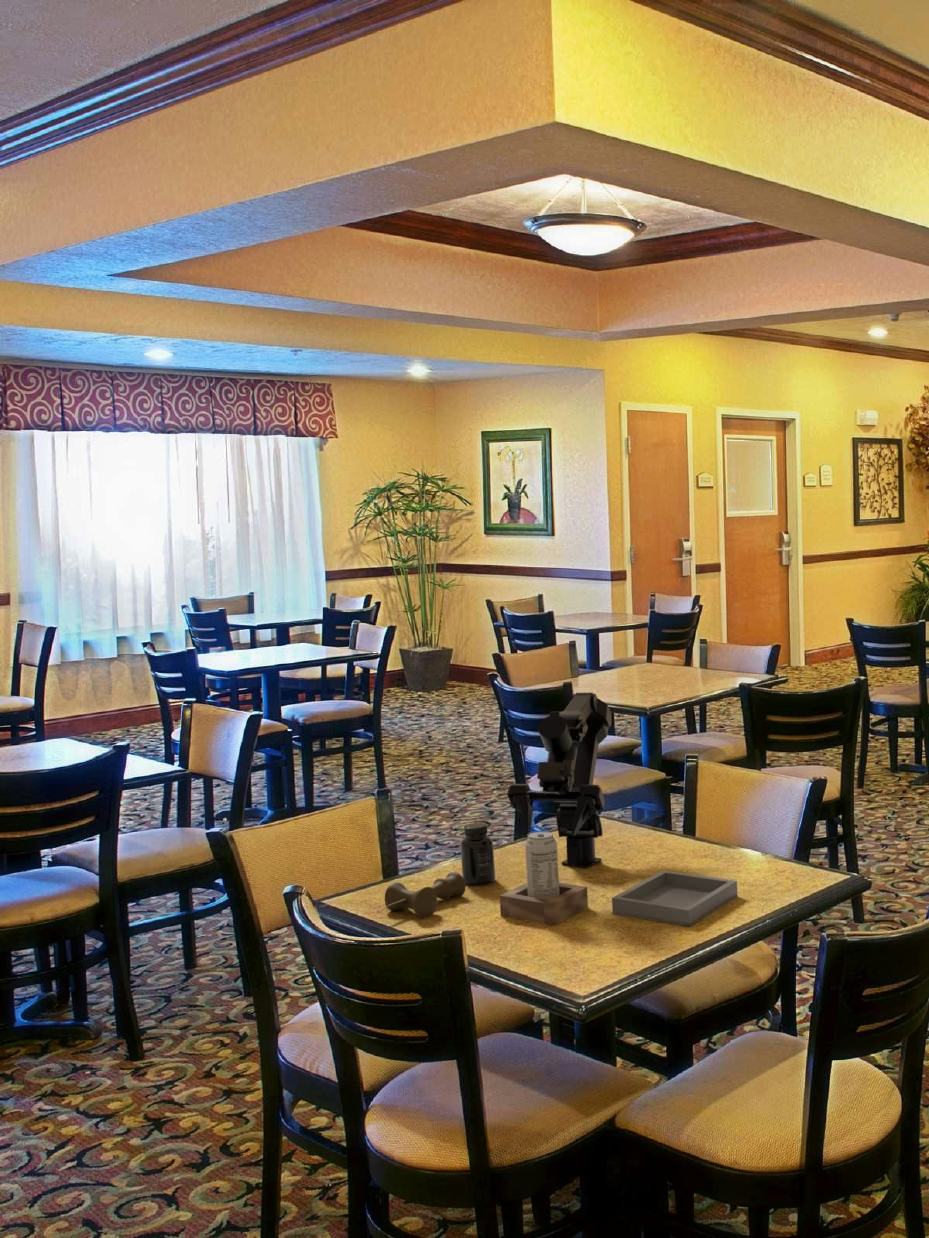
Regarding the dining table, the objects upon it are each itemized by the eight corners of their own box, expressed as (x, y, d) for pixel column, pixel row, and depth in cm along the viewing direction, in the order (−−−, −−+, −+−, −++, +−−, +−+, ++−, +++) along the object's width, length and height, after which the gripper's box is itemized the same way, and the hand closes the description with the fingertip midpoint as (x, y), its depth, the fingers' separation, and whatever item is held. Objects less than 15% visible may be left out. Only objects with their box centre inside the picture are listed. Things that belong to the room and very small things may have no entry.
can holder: (536, 898, 245) (535, 878, 245) (588, 907, 238) (587, 886, 238) (500, 915, 236) (499, 895, 235) (553, 925, 229) (552, 904, 228)
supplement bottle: (496, 876, 262) (493, 820, 261) (494, 886, 255) (491, 828, 254) (464, 877, 263) (461, 821, 262) (461, 887, 256) (457, 829, 255)
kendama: (476, 901, 248) (405, 926, 233) (441, 895, 254) (370, 919, 239) (475, 871, 247) (403, 895, 233) (439, 866, 254) (368, 888, 239)
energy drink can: (558, 905, 240) (554, 829, 239) (562, 915, 234) (558, 837, 233) (527, 907, 240) (523, 831, 239) (530, 917, 234) (526, 839, 233)
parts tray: (663, 884, 249) (662, 870, 249) (737, 896, 240) (736, 880, 239) (612, 913, 234) (611, 897, 233) (689, 926, 224) (688, 910, 224)
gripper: (507, 744, 249) (494, 811, 240) (598, 744, 244) (589, 813, 234) (519, 774, 257) (507, 841, 248) (608, 775, 252) (599, 843, 242)
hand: (550, 834), depth 243 cm, fingers open, 9 cm apart
